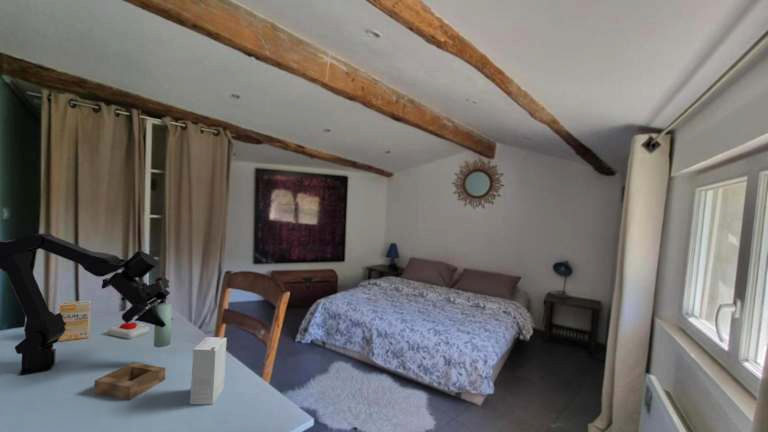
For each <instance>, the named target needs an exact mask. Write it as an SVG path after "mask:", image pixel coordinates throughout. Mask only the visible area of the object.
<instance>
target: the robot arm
mask: <svg viewBox="0 0 768 432" xmlns="http://www.w3.org/2000/svg"><path fill="white" fill-rule="evenodd" d="M39 249H40V250H43V251H45V252H48V253H51V254H53V255H55V256H58V257H61V258H62V259H65V260H69V261H71V262H73V263H76V264H77V265H79V266H80V267H82V268H83V270H85V271H86V272H87V273H89V274H91V275H93V276H95V277H98V278H102V277H105V276H109V275H111V274H113V275H111V276H109V277H105V278H103V279H102V283H101V284H102V285H101V289H103V290H104V289H106V288H109V287H112V288H113V289H114V290H115V291H116V292H118V293H119V295H120V296H122V297H121V298H120V300H121V301H122V302H125V301H127V302H128V303H129V304H130V305H131V306H130V307H129V308H128V309H127V310H126V311H124V312H123V313H122V314H121V320H122V321H123V322H124V323H131V321H132V322H133V320H134V322H140V323H144V324H145V323H146V324H148V325H149V324H150V325H152V326H155V325H156V326H159V327H164V326H165V325H166V324H165V323H164V321H163V320H162V319H161V318H160V316H159V315H158V314H157V313H156V312H155V305H157V304H161V303H167V302H166V301H167V299H168V296H169V295H170V294H171V292H170V291H169V290H168V289H169V288H170V285H169V283H170V280H169V279H167V278H166V277H164V276H163V275H162V276H159V277H157V278H155V281H154V282H152V283H150V284H148V283H147V282H142V283H141V281H139V280H138V279H137V278H139V279H142V278H144V277H145V276H146V275H147V274H149V273H150V272H151V271H153V269H155V268H156V267H158V265H159V263H158V260H157V259H156V258H155V257H154V256H153V255H151V254H149V253H148V252H147V253H146V252H144V251H143V250H137V251H136V252H135V253H134V254H133V255H132V256H131V257H130V258H128V259H123V258H120V257H118V255H115V254H112V253H106V252H102V251H94V250H93V251H92V250H89V249H87V248H84V247H82V246H79V245H77V244H74V243H72V242H70V241H67V240H64V239H62V238H59V237H56V236H54V234H51V233H49V232H41V233H33V234H32V235H28V236H25V237H22V238H17V239H10V240H1V241H0V270H1V271H3V272H4V273H6V276H7V277H8V280H9V282H10V284H11V286H12V288H13V291H14V293H15V296H16V298H17V300H18V302H19V304H20V307H21V308H22V311H23V314H24V316H25V318H26V321H25V324H24V336H25V338H23V340H21V341H20V342H19V343H18V344H17V345H15V346H14V349H15V352H16V355H21V370H20V372H19V376H21V375H28V374H33V373H40V372H45V371H46V372H47V371H50V370H51V369H52V367H53V366H55V363H56V355H57V354H56V353H57V349H56V348H54V344H56V343H59V342H58V340H59V338H60V337H61V336H62V335H63V333H64V331H65V326H64V325H66V323H65V322H64V321H63V318H62V315H61V313H60V312H59V313H56V314H55V313H54V312H52V311H51V310H50V309H49V307H48V305H47V303H46V301H45V297H44V296H43V292H41V289H40V287H39V284H38V283H37V280H36V277H35V276H34V273H33V270H32V269H31V264H32V263H31V262H32V259H33V254H32V252H33V251H37V250H39ZM120 270H122V271H121V272H119V271H120ZM134 318H135V319H134ZM172 321H173V317H172V318H171V322H172Z"/></svg>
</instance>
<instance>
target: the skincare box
mask: <svg viewBox="0 0 768 432" xmlns="http://www.w3.org/2000/svg"><path fill="white" fill-rule="evenodd" d="M227 342H228V340H227V337H216V336H215V337H212V336H205V337H204V339H202V341H200V342H199V343H198V344H197V345H196V346H195V347H193V348H194V349H193V350H192V351H193V352H192V365H191V366H192V369H191V385H190V402H189V404H191V405H214V403H215V402H216V400H217V399H218V397H219V396H220V394H221V393H222V391H223V390H224V387H225V374H226V371H225V370H226V353H227Z"/></svg>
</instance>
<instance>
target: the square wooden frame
mask: <svg viewBox="0 0 768 432" xmlns="http://www.w3.org/2000/svg"><path fill="white" fill-rule="evenodd" d="M165 380H166V367H162V366H156V365H150V364H145V363H140V362H131V363H129V364H127V365H125V366H124V365H123V367H120V368H118V369H116V370H114V371H112V372H108V374H105V375H103V376H101V377H99V378H96V379H95V380H94V390H93V391H94V392H93V394H96V395H100V396H101V395H102V396H107V397H111V398H116V399H122V400H127V401H131V400H132V399H135V398H136V397H138V396H140V395H142V394H143V393H144V392H146V391H148V390H149V389H151V388H153V387H155V386H156V385H158V384H160V383H162V382H163V381H165Z"/></svg>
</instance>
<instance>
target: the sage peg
mask: <svg viewBox="0 0 768 432" xmlns="http://www.w3.org/2000/svg"><path fill="white" fill-rule="evenodd" d="M155 312H156V313H157V314H158V315H159V316H160V318H161V319H162V320H163V321H164V323H165V324H166V325H165V326H164V327H159V326H156V325H154V332H153V333H154V334H153V347H155V348H163V347H168V346H170V345H171V339H172V336H171V335H172V321H171V318H172V319H173V317H172V316H173V315H172V314H173V313H172V312H173V304H172V303H171V302H166V303H161V304H157V305H155Z"/></svg>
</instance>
